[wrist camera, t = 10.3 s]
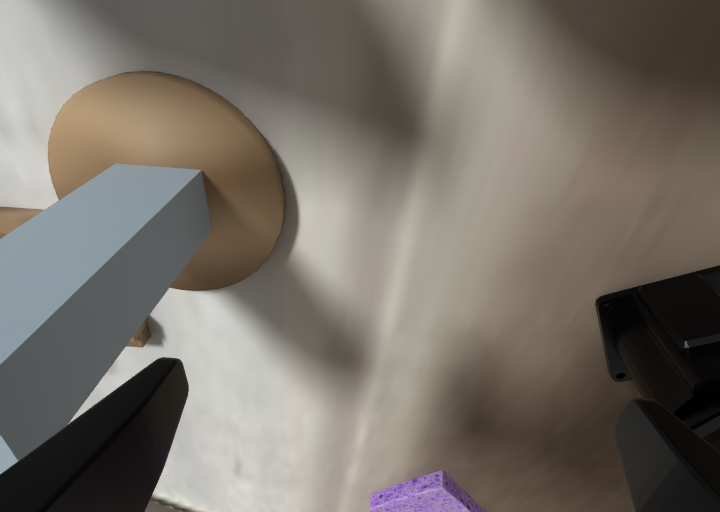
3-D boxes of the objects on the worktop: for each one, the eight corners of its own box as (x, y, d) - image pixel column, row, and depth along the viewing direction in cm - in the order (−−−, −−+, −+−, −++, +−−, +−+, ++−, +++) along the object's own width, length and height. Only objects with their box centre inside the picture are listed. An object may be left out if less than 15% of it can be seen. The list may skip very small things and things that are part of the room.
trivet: (323, 244, 22) (320, 254, 22) (158, 301, 25) (150, 312, 25) (201, 24, 17) (191, 27, 16) (12, 130, 20) (-5, 137, 19)
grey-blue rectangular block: (201, 169, 19) (-29, 392, 9) (211, 231, 21) (28, 476, 11) (115, 163, 20) (-207, 374, 9) (133, 224, 21) (-123, 460, 11)
